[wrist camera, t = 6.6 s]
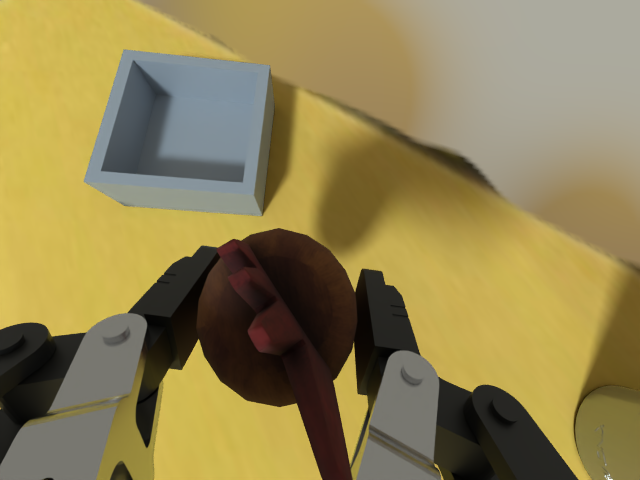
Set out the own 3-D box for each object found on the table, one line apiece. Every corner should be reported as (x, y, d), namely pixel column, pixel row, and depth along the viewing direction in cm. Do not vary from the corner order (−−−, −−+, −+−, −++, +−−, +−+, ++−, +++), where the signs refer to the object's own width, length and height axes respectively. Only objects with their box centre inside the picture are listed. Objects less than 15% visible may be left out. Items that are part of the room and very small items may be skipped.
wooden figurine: (348, 354, 17) (641, 645, 2) (256, 377, 16) (-173, 991, 2) (325, 251, 18) (407, 29, 4) (240, 268, 18) (-44, 79, 3)
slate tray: (274, 105, 29) (269, 65, 25) (262, 216, 26) (253, 195, 21) (153, 93, 29) (123, 49, 24) (124, 205, 25) (83, 181, 21)
